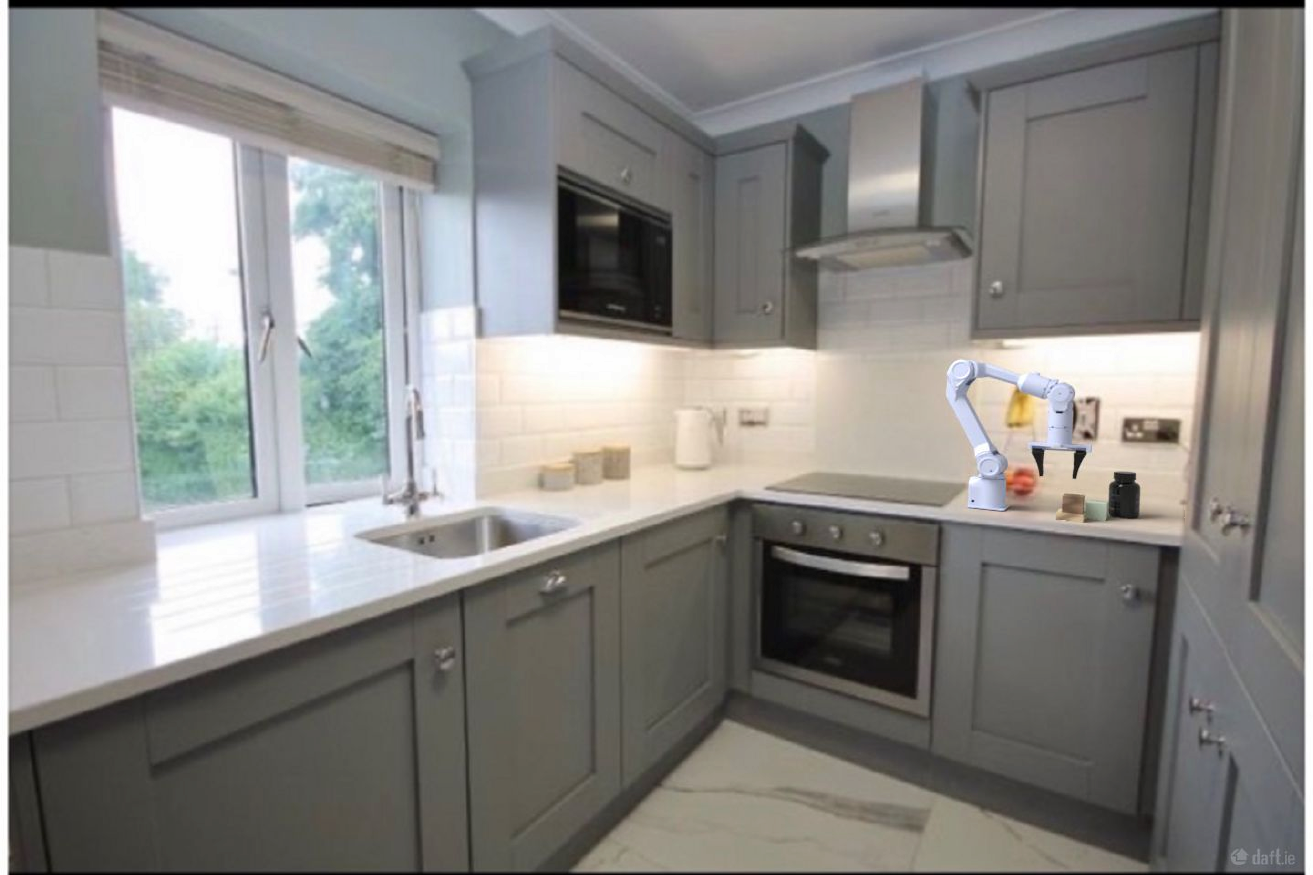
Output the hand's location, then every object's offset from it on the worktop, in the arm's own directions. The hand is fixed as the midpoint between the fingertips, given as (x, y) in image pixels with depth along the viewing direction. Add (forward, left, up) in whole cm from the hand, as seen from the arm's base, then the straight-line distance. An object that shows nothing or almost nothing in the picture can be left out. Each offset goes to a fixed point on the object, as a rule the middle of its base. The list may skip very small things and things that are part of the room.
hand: (1057, 477), depth 171 cm
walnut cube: (+4, -4, -8) cm, 10 cm away
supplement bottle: (+14, +8, -11) cm, 20 cm away
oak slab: (+4, -4, -11) cm, 12 cm away
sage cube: (+9, +2, -10) cm, 14 cm away
